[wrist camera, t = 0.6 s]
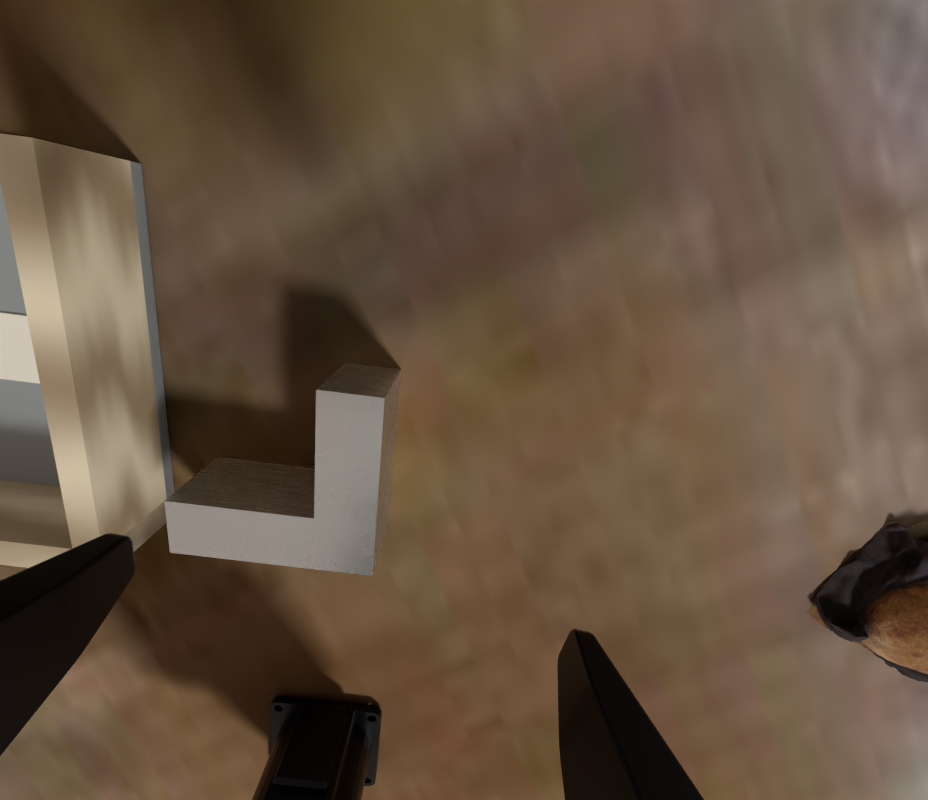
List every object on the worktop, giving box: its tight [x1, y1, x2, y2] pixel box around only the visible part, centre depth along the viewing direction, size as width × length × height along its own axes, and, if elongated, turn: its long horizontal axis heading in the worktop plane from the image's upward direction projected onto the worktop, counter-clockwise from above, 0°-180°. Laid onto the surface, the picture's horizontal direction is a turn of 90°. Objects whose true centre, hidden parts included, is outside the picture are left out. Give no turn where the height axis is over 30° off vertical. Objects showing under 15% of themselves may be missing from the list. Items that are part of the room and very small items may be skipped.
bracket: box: [164, 362, 401, 576], centre depth 20 cm, size 8×8×4 cm
